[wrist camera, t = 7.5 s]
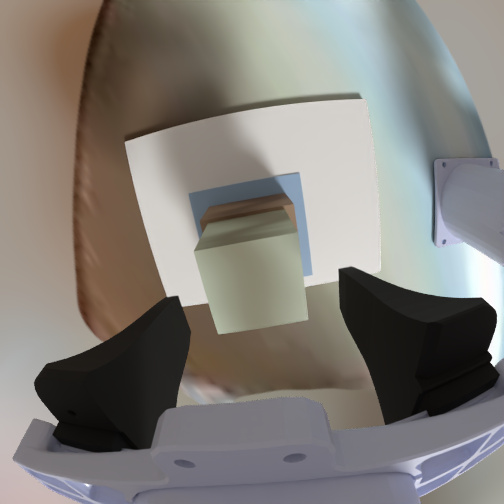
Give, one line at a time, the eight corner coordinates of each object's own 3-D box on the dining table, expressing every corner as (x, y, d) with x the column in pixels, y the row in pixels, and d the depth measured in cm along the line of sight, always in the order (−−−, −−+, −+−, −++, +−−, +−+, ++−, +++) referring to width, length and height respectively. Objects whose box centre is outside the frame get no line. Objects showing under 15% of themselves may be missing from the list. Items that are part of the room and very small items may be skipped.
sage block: (284, 209, 16) (297, 232, 12) (295, 278, 18) (308, 319, 13) (207, 223, 16) (193, 251, 12) (224, 290, 18) (218, 334, 14)
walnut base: (285, 192, 20) (293, 204, 16) (295, 263, 22) (304, 288, 18) (208, 206, 20) (199, 221, 16) (224, 275, 22) (220, 302, 18)
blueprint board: (363, 100, 18) (366, 98, 17) (377, 268, 23) (381, 272, 22) (127, 142, 19) (124, 142, 18) (172, 304, 24) (171, 308, 23)
